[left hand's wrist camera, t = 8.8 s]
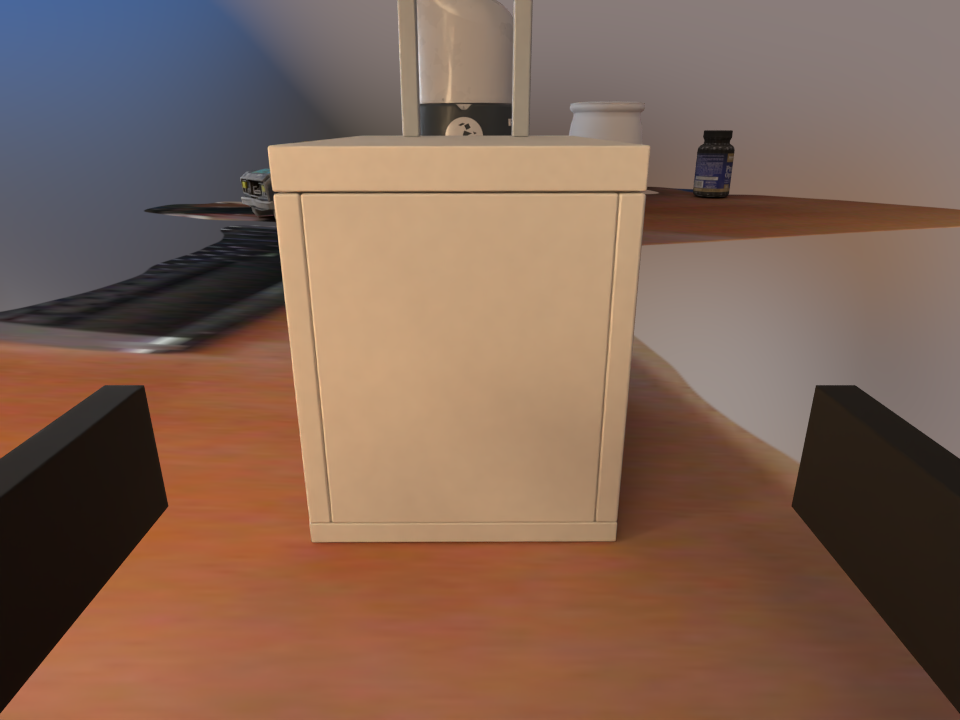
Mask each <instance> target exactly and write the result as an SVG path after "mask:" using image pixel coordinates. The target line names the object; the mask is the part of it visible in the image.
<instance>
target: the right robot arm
mask: <svg viewBox="0 0 960 720" xmlns="http://www.w3.org/2000/svg"><path fill="white" fill-rule="evenodd" d="M417 26H418V58H419V90H420V122H421V136H512V76H513V17H512V15H511V14H510V12H509V11H508V10H507V9H506V8H505V7H504V6H503V5H502V4H501V3H499V2H498V1H497V0H417Z"/></svg>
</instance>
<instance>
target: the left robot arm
mask: <svg viewBox="0 0 960 720" xmlns="http://www.w3.org/2000/svg"><path fill="white" fill-rule="evenodd" d="M167 507H168V502H167V497H166V492H165V487H164V482H163V477H162V472H161V467H160V462H159V457H158V453H157V448H156V443H155V438H154V433H153V428H152V423H151V418H150V413H149V408H148V403H147V398H146V393H145V388H144V385H105V386H103V387H102V388H100V389H99V390H98V391H96V392H95V393H93V394H92V395H90V396H89V397H88V398H86V399H85V400H83V401H82V402H80V403H79V404H78V405H76V406H75V407H73V408H72V409H71V410H69V411H68V412H66V413H65V414H63V415H62V416H61V417H59V418H58V419H56V420H55V421H53V422H52V423H51V424H49V425H48V426H46V427H45V428H43V429H42V430H41V431H39V432H38V433H36V434H35V435H33V436H32V437H31V438H29V439H28V440H26V441H25V442H24V443H22V444H21V445H19V446H18V447H16V448H15V449H14V450H12V451H11V452H9V453H8V454H6V455H5V456H4V457H2V458H1V459H0V713H1V712H2V711H3V709H4V708H5V707H6V706H7V705H8V703H9V702H10V701H11V700H12V698H13V697H14V696H15V695H16V693H17V692H18V691H19V690H20V688H21V687H22V686H23V685H24V684H25V682H26V681H27V680H28V679H29V677H30V676H31V675H32V674H33V672H34V671H35V670H36V669H37V668H38V666H39V665H40V664H41V663H42V661H43V660H44V659H45V658H46V656H47V655H48V654H49V653H50V651H51V650H52V649H53V648H54V647H55V645H56V644H57V643H58V642H59V640H60V639H61V638H62V637H63V635H64V634H65V633H66V632H67V631H68V629H69V628H70V627H71V626H72V624H73V623H74V622H75V621H76V619H77V618H78V617H79V616H80V614H81V613H82V612H83V611H84V610H85V608H86V607H87V606H88V605H89V603H90V602H91V601H92V600H93V598H94V597H95V596H96V595H97V594H98V592H99V591H100V590H101V589H102V587H103V586H104V585H105V584H106V582H107V581H108V580H109V579H110V577H111V576H112V575H113V574H114V573H115V571H116V570H117V569H118V568H119V566H120V565H121V564H122V563H123V561H124V560H125V559H126V558H127V557H128V555H129V554H130V553H131V552H132V550H133V549H134V548H135V547H136V545H137V544H138V543H139V542H140V541H141V539H142V538H143V537H144V536H145V534H146V533H147V532H148V531H149V529H150V528H151V527H152V526H153V524H154V523H155V522H156V521H157V520H158V518H159V517H160V516H161V515H162V513H163V512H164V511H165V510H166V508H167ZM792 507H793V508H794V510H795V511H796V512H797V513H798V515H799V516H800V517H801V518H802V520H803V521H804V522H805V523H806V524H807V526H808V527H809V528H810V529H811V531H812V532H813V533H814V534H815V536H816V537H817V538H818V539H819V541H820V542H821V543H822V544H823V545H824V547H825V548H826V549H827V550H828V552H829V553H830V554H831V555H832V557H833V558H834V559H835V560H836V561H837V563H838V564H839V565H840V566H841V568H842V569H843V570H844V571H845V573H846V574H847V575H848V576H849V577H850V579H851V580H852V581H853V582H854V584H855V585H856V586H857V587H858V589H859V590H860V591H861V592H862V594H863V595H864V596H865V597H866V598H867V600H868V601H869V602H870V603H871V605H872V606H873V607H874V608H875V610H876V611H877V612H878V613H879V614H880V616H881V617H882V618H883V619H884V621H885V622H886V623H887V624H888V626H889V627H890V628H891V629H892V631H893V632H894V633H895V634H896V635H897V637H898V638H899V639H900V640H901V642H902V643H903V644H904V645H905V647H906V648H907V649H908V650H909V651H910V653H911V654H912V655H913V656H914V658H915V659H916V660H917V661H918V663H919V664H920V665H921V666H922V668H923V669H924V670H925V671H926V672H927V674H928V675H929V676H930V677H931V679H932V680H933V681H934V682H935V684H936V685H937V686H938V687H939V688H940V690H941V691H942V692H943V693H944V695H945V696H946V697H947V698H948V700H949V701H950V702H951V703H952V705H953V706H954V707H955V708H956V709H957V711H958V712H959V713H960V459H959V458H958V457H956V456H955V455H954V454H952V453H951V452H949V451H948V450H946V449H945V448H944V447H942V446H941V445H939V444H938V443H936V442H935V441H933V440H932V439H931V438H929V437H928V436H926V435H925V434H924V433H922V432H921V431H919V430H918V429H917V428H915V427H914V426H912V425H911V424H909V423H908V422H907V421H905V420H904V419H902V418H901V417H899V416H898V415H897V414H895V413H894V412H892V411H891V410H889V409H888V408H887V407H885V406H884V405H882V404H881V403H880V402H878V401H877V400H875V399H874V398H872V397H871V396H870V395H868V394H867V393H865V392H864V391H862V390H861V389H860V388H858V387H857V386H855V385H816V388H815V393H814V398H813V403H812V408H811V413H810V418H809V423H808V428H807V433H806V438H805V443H804V448H803V453H802V458H801V462H800V467H799V472H798V477H797V482H796V487H795V492H794V497H793V502H792Z"/></svg>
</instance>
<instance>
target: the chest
mask: <svg viewBox="0 0 960 720" xmlns="http://www.w3.org/2000/svg"><path fill="white" fill-rule="evenodd" d="M645 201H646V195H645V194H644V193H641V192H639V191H390V192H279V193H277V194H274V205H275V214H276V223H277V232H278V241H279V250H280V259H281V268H282V277H283V286H284V295H285V304H286V313H287V322H288V331H289V340H290V349H291V358H292V367H293V376H294V385H295V394H296V403H297V412H298V421H299V430H300V439H301V448H302V457H303V466H304V475H305V484H306V493H307V502H308V511H309V520H310V533H311V541H312V542H534V541H616V532H617V518H618V506H619V495H620V484H621V472H622V461H623V450H624V438H625V427H626V416H627V404H628V393H629V382H630V370H631V359H632V348H633V336H634V325H635V314H636V302H637V291H638V280H639V269H640V257H641V246H642V235H643V223H644V212H645Z"/></svg>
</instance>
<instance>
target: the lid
mask: <svg viewBox="0 0 960 720" xmlns="http://www.w3.org/2000/svg"><path fill="white" fill-rule="evenodd" d="M397 3H398V29H399V53H400V78H401V102H402V127H403V136H356V137H346V138H337V139H328V140H318V141H309V142H300V143H290V144H281V145H272V146H269V147H268V155H269V164H270V173H271V182H272V190H273V191H275V192H390V191H646V190H647V181H648V170H649V159H650V146H648V145H641V144H633V143H625V142H618V141H610V140H602V139H594V138H586V137H579V136H529V124H530V84H531V43H532V4H533V0H514V13H513V76H512V136H421V122H420V90H419V58H418V26H417V0H397Z"/></svg>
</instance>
